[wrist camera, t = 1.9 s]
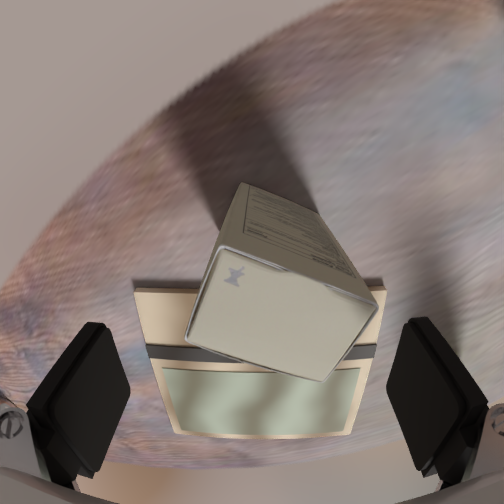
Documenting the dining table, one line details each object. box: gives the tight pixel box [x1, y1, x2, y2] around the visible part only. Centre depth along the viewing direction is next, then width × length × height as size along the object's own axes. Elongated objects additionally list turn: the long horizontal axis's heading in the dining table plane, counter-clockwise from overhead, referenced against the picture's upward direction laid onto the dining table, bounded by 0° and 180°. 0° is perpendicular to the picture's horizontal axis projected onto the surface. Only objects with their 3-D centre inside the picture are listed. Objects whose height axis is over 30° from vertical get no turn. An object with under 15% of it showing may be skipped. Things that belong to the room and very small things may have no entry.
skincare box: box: [184, 182, 379, 383], centre depth 16 cm, size 6×4×12 cm
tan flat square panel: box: [134, 286, 387, 439], centre depth 27 cm, size 20×19×1 cm
